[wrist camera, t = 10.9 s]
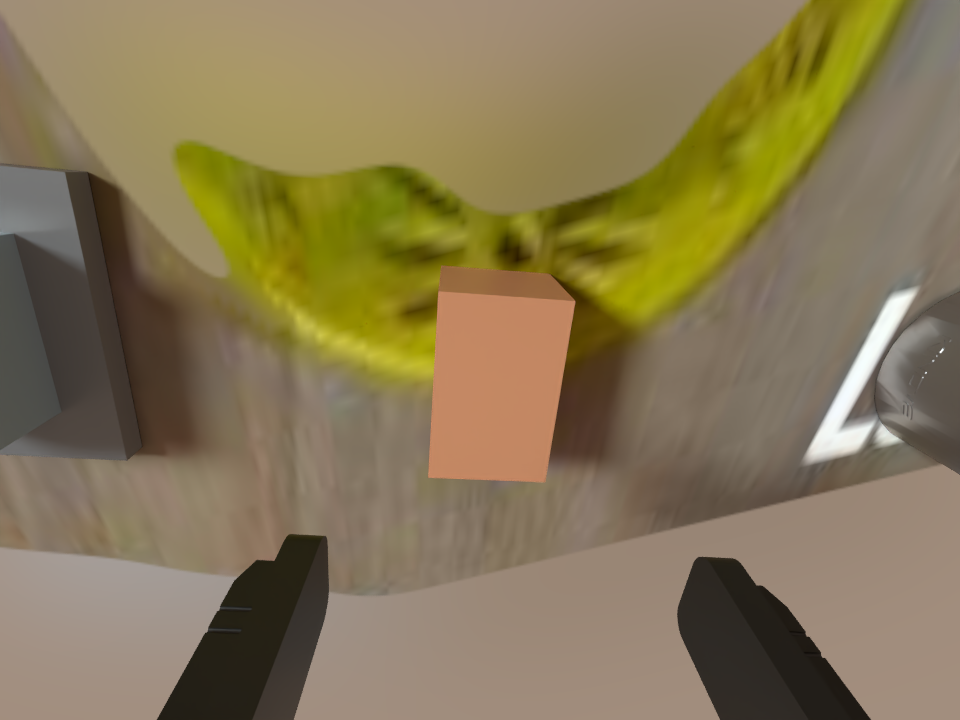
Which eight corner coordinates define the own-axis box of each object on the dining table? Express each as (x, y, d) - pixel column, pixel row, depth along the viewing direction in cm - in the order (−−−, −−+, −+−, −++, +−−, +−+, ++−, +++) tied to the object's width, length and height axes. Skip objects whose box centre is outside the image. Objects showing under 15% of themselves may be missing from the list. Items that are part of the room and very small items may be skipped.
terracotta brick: (549, 273, 22) (575, 301, 17) (527, 423, 25) (545, 482, 20) (441, 265, 21) (438, 291, 17) (432, 419, 24) (428, 477, 20)
